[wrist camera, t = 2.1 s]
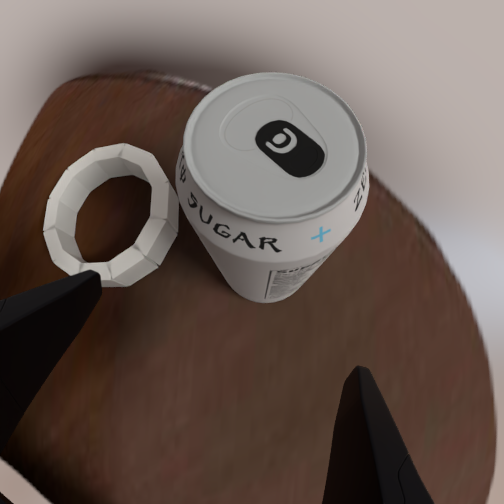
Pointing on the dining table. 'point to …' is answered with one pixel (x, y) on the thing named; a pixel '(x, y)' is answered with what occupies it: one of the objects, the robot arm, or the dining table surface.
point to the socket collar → (76, 191)
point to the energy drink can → (272, 179)
